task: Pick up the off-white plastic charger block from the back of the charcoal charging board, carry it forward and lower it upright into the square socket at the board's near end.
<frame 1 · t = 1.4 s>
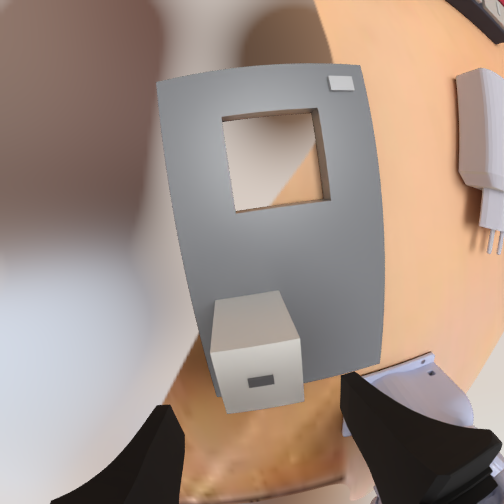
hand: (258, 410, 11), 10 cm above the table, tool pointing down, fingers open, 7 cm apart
socket board: (284, 236, 19), on the table
charger 2: (483, 168, 19), on the table
charger: (251, 323, 18), point 1 cm above the table, touching socket board
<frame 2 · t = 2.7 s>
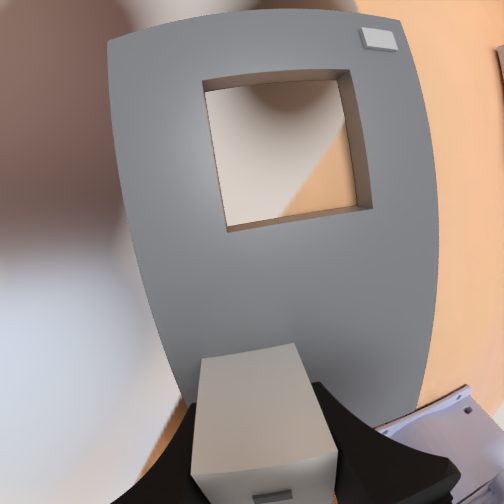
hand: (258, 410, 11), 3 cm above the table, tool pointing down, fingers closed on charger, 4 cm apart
socket board: (301, 262, 13), on the table
charger: (255, 385, 12), point 1 cm above the table, touching gripper, socket board
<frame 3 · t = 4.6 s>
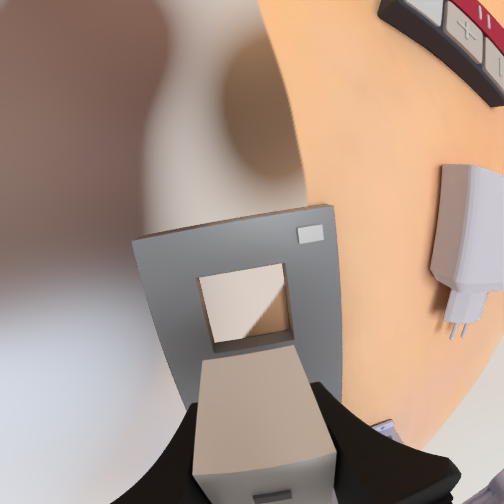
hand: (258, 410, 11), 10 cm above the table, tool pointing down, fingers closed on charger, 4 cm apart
socket board: (256, 358, 22), on the table
black button box: (445, 29, 17), on the table
charger 2: (459, 253, 22), on the table
charger: (255, 387, 12), point 8 cm above the table, touching gripper
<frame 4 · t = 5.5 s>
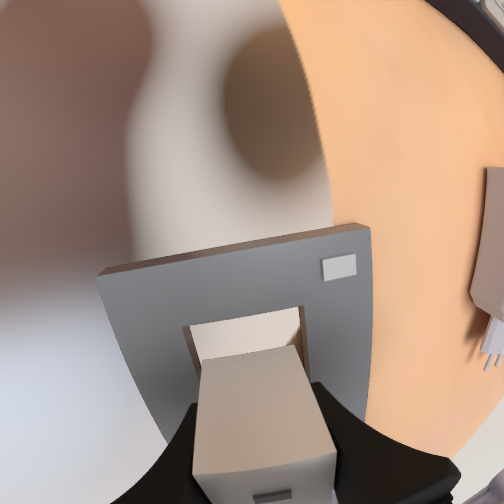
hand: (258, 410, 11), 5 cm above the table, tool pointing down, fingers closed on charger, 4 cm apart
socket board: (263, 410, 17), on the table
black button box: (476, 12, 11), on the table
charger 2: (498, 271, 17), on the table
charger: (255, 386, 12), point 3 cm above the table, touching gripper
when the fingers open (3 cm above the table, at t = 6.3 s): charger stays where it is, resting in socket board.
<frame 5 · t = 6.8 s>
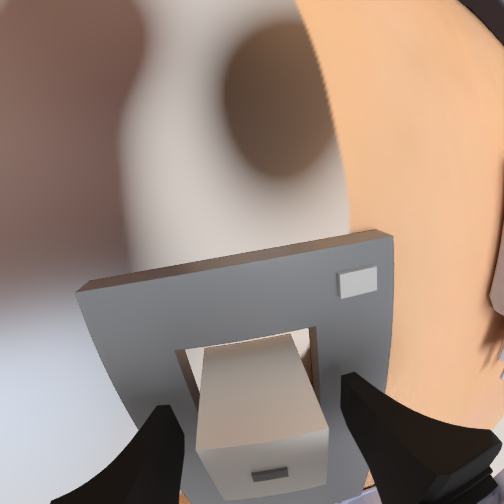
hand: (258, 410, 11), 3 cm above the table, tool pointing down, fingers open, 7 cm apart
socket board: (266, 433, 15), on the table
black button box: (488, 2, 9), on the table
charger: (254, 374, 13), resting in socket board
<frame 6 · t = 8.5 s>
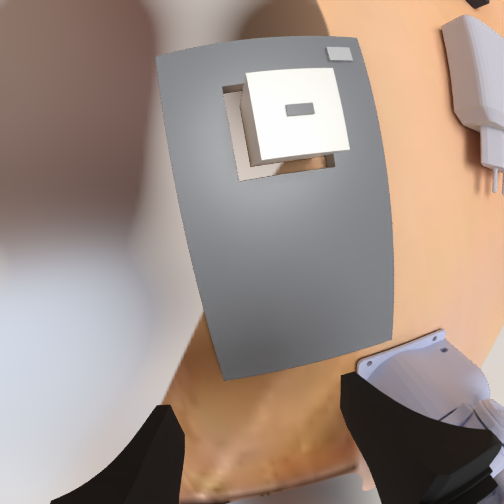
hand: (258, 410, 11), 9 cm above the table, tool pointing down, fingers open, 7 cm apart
socket board: (289, 206, 18), on the table
charger 2: (478, 113, 18), on the table
charger: (276, 131, 17), resting in socket board
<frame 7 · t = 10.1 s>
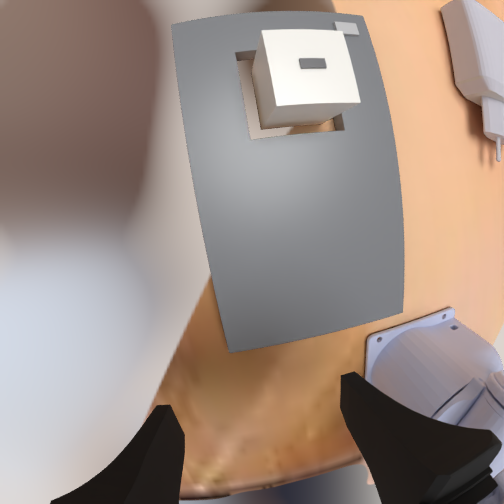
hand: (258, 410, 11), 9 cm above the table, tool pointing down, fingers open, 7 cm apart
socket board: (299, 169, 18), on the table
charger 2: (479, 89, 17), on the table
charger: (286, 97, 17), resting in socket board
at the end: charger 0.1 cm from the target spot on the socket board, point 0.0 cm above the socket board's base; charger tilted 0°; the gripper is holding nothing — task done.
